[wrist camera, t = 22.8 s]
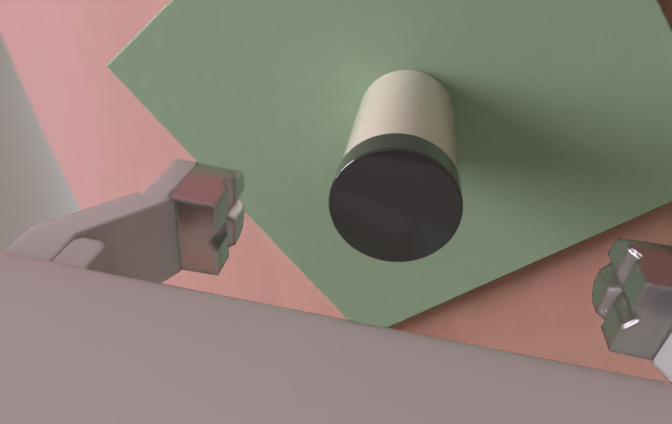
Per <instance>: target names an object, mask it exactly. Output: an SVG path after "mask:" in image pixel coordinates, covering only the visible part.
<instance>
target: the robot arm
mask: <svg viewBox="0 0 672 424" xmlns="http://www.w3.org/2000/svg"><path fill="white" fill-rule="evenodd" d="M243 190H244V175H243V173H242V171H238V170H233V169H227V168H222V167H217V166H212V165H207V164H202V163H198V162H192V161H186V160H174V161H173V162H172V163H171V164H170V165H169V167H168V168H167V169H166V170H165V171H164V172H163V173H162V174H161V175H160V176H159V177H158V178H157V179H156V181H155V182H154V183H153V184H152V185H151V186H150V187H149V188H148V189H147V190H146V191H145V192H144V193H138V192H137V193H134V194H130V195H127V196H124V197H121V198H118V199H115V200H112V201H109V202H106V203H103V204H100V205H97V206H94V207H90V208H87V209H84V210H81V211H78V212H75V213H72V214H69V215H66V216H63V217H60V218H57V219H54V220H50V221H47V222H44V223H41V224H38V225H35V226H32V227H31V228H30V229H29V230H28V231H27V232H26V233H24V234H23V235H22V236H21V237H20V238H19V239H17V240H16V241H15V242H14V243H13V244H12V245H11V246H9V247H8V248H7V249H6V250H5V251H4V252H0V424H672V246H668V245H661V244H655V243H648V242H642V241H635V240H628V239H621V238H618V239H617V240H616V241H615V242H614V243H613V245H612V247H611V248H610V250H609V252H608V255H609V258H610V261H611V263H610V264H609V265H607V266H605V267H603V268H602V269H600V270H599V272H598V275H597V277H596V279H595V281H594V286H593V292H592V298H593V305H594V308H595V311H596V313H598V314H599V315H600V316H601V317H602V318H603V319H604V320H605V321H604V323H603V324H602V326H601V329H602V331H603V334H604V337H605V340H606V343H607V345H608V348H609V351H611V352H616V353H621V354H625V355H630V356H634V357H639V358H643V359H648V360H653V361H652V363H653V364H654V365H655V366H656V367H657V368H658V369H659V370H660V371H661V372H662V373H663V374H664V376H665V377H666V378H667V379H668V380H669V381H670V382H671V383H667V382H661V381H656V380H651V379H646V378H641V377H636V376H631V375H626V374H621V373H615V372H610V371H605V370H600V369H595V368H590V367H585V366H580V365H575V364H569V363H564V362H559V361H554V360H549V359H544V358H539V357H534V356H529V355H523V354H518V353H513V352H508V351H503V350H498V349H493V348H488V347H483V346H477V345H472V344H467V343H462V342H457V341H452V340H447V339H442V338H437V337H432V336H426V335H421V334H416V333H411V332H406V331H401V330H396V329H391V328H386V327H381V326H375V325H370V324H365V323H360V322H355V321H350V320H345V319H340V318H335V317H330V316H324V315H319V314H314V313H309V312H304V311H299V310H294V309H289V308H284V307H278V306H273V305H268V304H263V303H258V302H253V301H248V300H243V299H238V298H233V297H227V296H222V295H217V294H212V293H207V292H202V291H197V290H192V289H187V288H182V287H176V286H171V285H166V284H161V283H162V282H163V281H165V280H167V279H168V278H170V277H172V276H173V275H175V274H176V273H178V272H180V269H181V270H187V271H194V272H200V273H206V274H212V275H219V273H220V271H221V269H222V267H223V266H224V264H225V262H226V260H227V259H228V257H229V252H228V248H229V247H231V246H233V245H235V244H236V242H237V240H238V238H239V236H240V233H241V229H242V226H243V219H244V204H243V203H242V202H241V200H240V199H239V197H240V195H241V193H242V192H243Z"/></svg>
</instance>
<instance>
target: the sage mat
mask: <svg viewBox="0 0 672 424" xmlns="http://www.w3.org/2000/svg"><path fill="white" fill-rule="evenodd" d="M107 67H108V68H109V69H110V70H111V71H112V73H113V74H114V75H115V76H116V77H117V78H118V79H119V80H120V81H121V82H122V83H123V84H124V85H125V86H126V87H127V88H128V89H129V90H130V91H131V93H132V94H133V95H134V96H135V97H136V98H137V99H138V100H139V101H140V102H141V103H142V104H143V105H144V106H145V107H146V108H147V109H148V110H149V111H150V112H151V114H152V115H153V116H154V117H155V118H156V119H157V120H158V121H159V122H160V123H161V124H162V125H163V126H164V127H165V128H166V129H167V130H168V131H169V132H170V134H171V135H172V136H173V137H174V138H175V139H176V140H177V141H178V142H179V143H180V144H181V145H182V146H183V147H184V148H185V149H186V150H187V151H188V152H189V153H190V155H191V156H192V157H193V158H194V159H195V160H196V161H197V162H198V163H202V164H207V165H212V166H217V167H222V168H227V169H233V170H238V171H242V173H243V175H244V190H243V192H242V193H241V195H240V197H239V199H240V200H241V202H242V203H243V204H244V211H245V212H246V213H247V214H248V215H249V217H250V218H251V219H252V220H253V221H254V222H255V223H256V224H257V225H258V226H259V227H260V228H261V229H262V230H263V231H264V232H265V233H266V234H267V235H268V237H269V238H270V239H271V240H272V241H273V242H274V243H275V244H276V245H277V246H278V247H279V248H280V249H281V250H282V251H283V252H284V253H285V254H286V255H287V256H288V258H289V259H290V260H291V261H292V262H293V263H294V264H295V265H296V266H297V267H298V268H299V269H300V270H301V271H302V272H303V273H304V274H305V275H306V276H307V278H308V279H309V280H310V281H311V282H312V283H313V284H314V285H315V286H316V287H317V288H318V289H319V290H320V291H321V292H322V293H323V294H324V295H325V296H326V297H327V299H328V300H329V301H330V302H331V303H332V304H333V305H334V306H335V307H336V308H337V309H338V310H339V311H340V312H341V313H342V314H343V315H344V316H345V317H346V319H347V320H350V321H355V322H360V323H365V324H370V325H375V326H381V327H386V328H388V327H390V326H392V325H394V324H397V323H399V322H401V321H403V320H406V319H408V318H410V317H412V316H415V315H417V314H419V313H421V312H424V311H426V310H428V309H431V308H433V307H435V306H437V305H440V304H442V303H444V302H446V301H449V300H451V299H453V298H455V297H458V296H460V295H462V294H464V293H467V292H469V291H471V290H473V289H476V288H478V287H480V286H482V285H485V284H487V283H489V282H491V281H494V280H496V279H498V278H500V277H503V276H505V275H507V274H509V273H512V272H514V271H516V270H518V269H521V268H523V267H525V266H527V265H530V264H532V263H534V262H536V261H539V260H541V259H543V258H545V257H548V256H550V255H552V254H555V253H557V252H559V251H561V250H564V249H566V248H568V247H570V246H573V245H575V244H577V243H579V242H582V241H584V240H586V239H588V238H591V237H593V236H595V235H597V234H600V233H602V232H604V231H606V230H609V229H611V228H613V227H615V226H618V225H620V224H622V223H624V222H627V221H629V220H631V219H633V218H636V217H638V216H640V215H642V214H645V213H647V212H649V211H651V210H654V209H656V208H658V207H660V206H663V205H665V204H667V203H670V202H672V28H671V26H670V24H669V22H668V20H667V18H666V15H665V13H664V11H663V9H662V7H661V5H660V3H659V1H658V0H171V1H170V2H169V3H168V4H167V5H166V6H165V7H164V8H163V9H162V10H161V11H160V12H159V13H158V14H157V15H156V16H155V17H154V18H153V19H152V20H151V21H150V22H149V23H148V24H147V25H146V26H145V27H144V28H143V29H142V30H141V31H140V32H139V33H138V34H137V35H136V36H135V37H134V38H133V39H132V40H131V41H130V42H129V43H128V44H127V45H126V46H125V47H124V48H123V49H122V50H121V51H120V52H119V53H118V54H117V55H116V56H115V57H114V58H113V59H112V60H111V61H110V62H109V63H108V64H107ZM399 70H415V71H419V72H423V73H425V74H428V75H430V76H432V77H433V78H435V79H436V80H437V81H439V82H440V83H441V84H442V85H443V86H444V88H445V89H446V90H447V92H448V94H449V95H450V98H451V100H452V104H453V110H454V122H455V135H456V148H457V161H458V173H459V175H460V179H461V186H462V197H463V215H462V219H461V222H460V225H459V227H458V229H457V231H456V233H455V234H454V236H453V237H452V238H451V239H450V241H449V242H448V243H447V244H446V245H445V246H444V247H442V248H441V249H439V250H438V251H437V252H435V253H433V254H431V255H429V256H427V257H424V258H421V259H418V260H414V261H408V262H389V261H382V260H378V259H375V258H372V257H369V256H367V255H365V254H363V253H360V252H359V251H357V250H356V249H354V248H353V247H352V246H350V245H349V244H348V243H347V242H346V241H345V240H344V239H343V238H342V237H341V236H340V234H339V233H338V232H337V230H336V228H335V226H334V225H333V222H332V220H331V217H330V213H329V206H328V199H329V192H330V188H331V185H332V182H333V179H334V176H335V173H336V170H337V168H338V165H339V164H340V162H341V160H342V158H343V155H344V152H345V149H346V146H347V143H348V140H349V137H350V133H351V130H352V127H353V124H354V121H355V118H356V115H357V112H358V109H359V106H360V103H361V100H362V98H363V96H364V94H365V92H366V90H367V89H368V88H369V87H370V85H371V84H372V83H373V82H375V81H376V80H377V79H378V78H380V77H382V76H383V75H386V74H388V73H391V72H394V71H399Z"/></svg>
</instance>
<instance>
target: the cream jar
mask: <svg viewBox="0 0 672 424" xmlns="http://www.w3.org/2000/svg"><path fill="white" fill-rule="evenodd" d="M328 206H329V213H330V217H331V220H332V222H333V225H334V226H335V228H336V230H337V232H338V233H339V234H340V236H341V237H342V238H343V239H344V240H345V241H346V242H347V243H348V244H349V245H350V246H352V247H353V248H354V249H356V250H357V251H359V252H360V253H363V254H365V255H367V256H369V257H372V258H375V259H378V260H382V261H389V262H408V261H414V260H418V259H421V258H424V257H427V256H429V255H431V254H433V253H435V252H437V251H438V250H439V249H441V248H442V247H444V246H445V245H446V244H447V243H448V242H449V241H450V239H451V238H452V237H453V236H454V234H455V233H456V231H457V229H458V227H459V225H460V222H461V219H462V215H463V197H462V186H461V179H460V175H459V173H458V161H457V148H456V135H455V122H454V110H453V104H452V100H451V98H450V95H449V94H448V92H447V90H446V89H445V88H444V86H443V85H442V84H441V83H440V82H439V81H437V80H436V79H435V78H433V77H432V76H430V75H428V74H425V73H423V72H419V71H415V70H399V71H394V72H391V73H388V74H386V75H383V76H382V77H380V78H378V79H377V80H376V81H375V82H373V83H372V84H371V85H370V87H369V88H368V89H367V90H366V92H365V94H364V96H363V98H362V100H361V103H360V106H359V109H358V112H357V115H356V118H355V121H354V124H353V127H352V130H351V133H350V137H349V140H348V143H347V146H346V149H345V152H344V155H343V158H342V160H341V162H340V164H339V165H338V168H337V170H336V173H335V176H334V179H333V182H332V185H331V188H330V192H329V199H328Z"/></svg>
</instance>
